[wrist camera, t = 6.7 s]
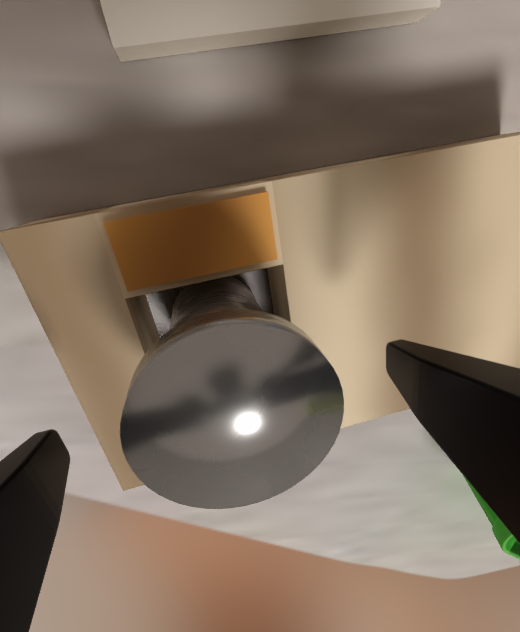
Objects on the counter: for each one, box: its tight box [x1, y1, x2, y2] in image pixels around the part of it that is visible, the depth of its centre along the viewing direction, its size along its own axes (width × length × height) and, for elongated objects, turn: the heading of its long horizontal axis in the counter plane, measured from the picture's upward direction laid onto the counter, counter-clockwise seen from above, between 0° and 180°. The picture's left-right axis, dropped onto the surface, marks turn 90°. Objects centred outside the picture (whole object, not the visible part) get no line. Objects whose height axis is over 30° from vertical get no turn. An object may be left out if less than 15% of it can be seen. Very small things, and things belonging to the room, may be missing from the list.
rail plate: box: [0, 132, 520, 491], centre depth 13 cm, size 18×10×3 cm, turn 99°
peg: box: [120, 276, 344, 509], centre depth 11 cm, size 5×5×7 cm
